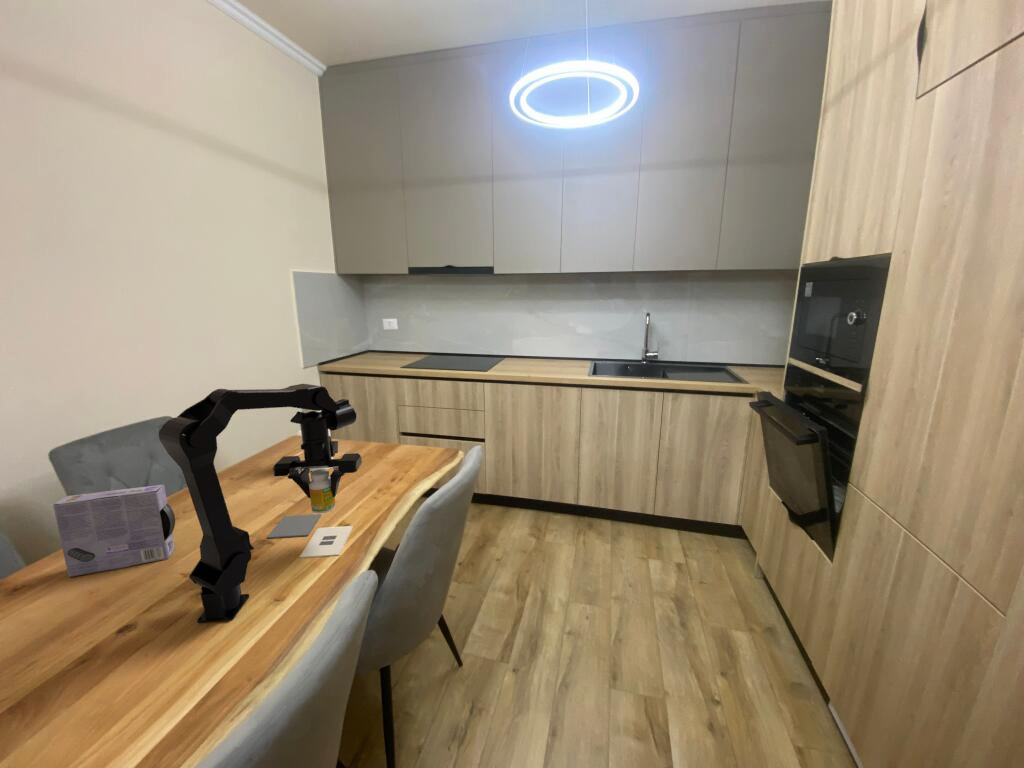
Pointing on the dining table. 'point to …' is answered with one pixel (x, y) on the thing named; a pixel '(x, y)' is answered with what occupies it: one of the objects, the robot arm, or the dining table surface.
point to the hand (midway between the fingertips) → (322, 496)
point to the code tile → (327, 542)
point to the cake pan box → (115, 529)
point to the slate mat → (294, 526)
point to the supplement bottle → (321, 492)
